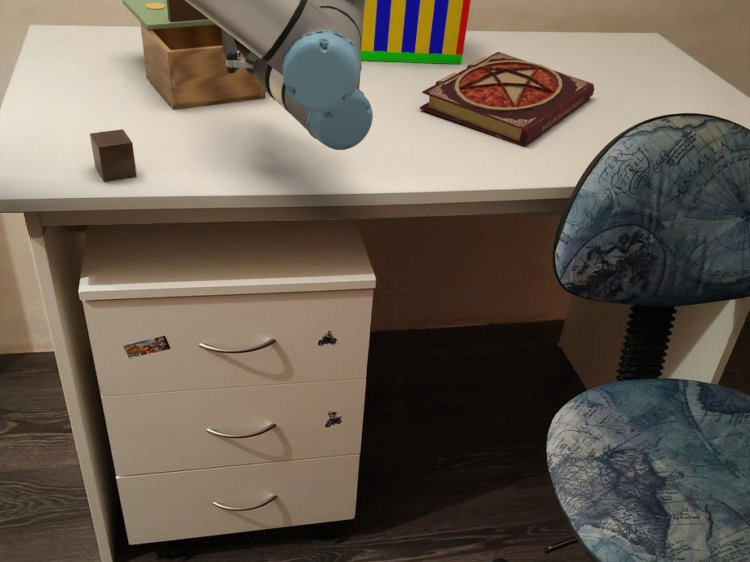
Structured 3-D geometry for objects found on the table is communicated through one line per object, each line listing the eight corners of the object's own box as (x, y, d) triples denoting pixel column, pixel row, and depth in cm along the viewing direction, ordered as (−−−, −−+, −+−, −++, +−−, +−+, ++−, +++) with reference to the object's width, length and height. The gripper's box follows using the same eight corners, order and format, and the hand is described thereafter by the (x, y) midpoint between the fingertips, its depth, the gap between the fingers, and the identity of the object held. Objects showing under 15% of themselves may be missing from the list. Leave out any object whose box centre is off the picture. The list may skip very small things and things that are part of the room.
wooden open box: (172, 109, 129) (167, 52, 123) (146, 77, 137) (140, 22, 132) (265, 98, 135) (264, 43, 130) (234, 68, 144) (232, 15, 138)
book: (524, 150, 130) (531, 121, 127) (415, 109, 137) (419, 80, 134) (590, 101, 149) (598, 74, 146) (491, 67, 156) (496, 41, 153)
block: (103, 181, 109) (98, 147, 106) (95, 167, 112) (89, 133, 109) (136, 176, 111) (132, 142, 108) (127, 162, 114) (122, 128, 111)
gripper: (247, 112, 104) (185, 50, 119) (337, 100, 110) (267, 42, 124) (246, 53, 99) (181, -4, 114) (339, 43, 105) (266, -10, 119)
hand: (226, 20), depth 119 cm, fingers closed
